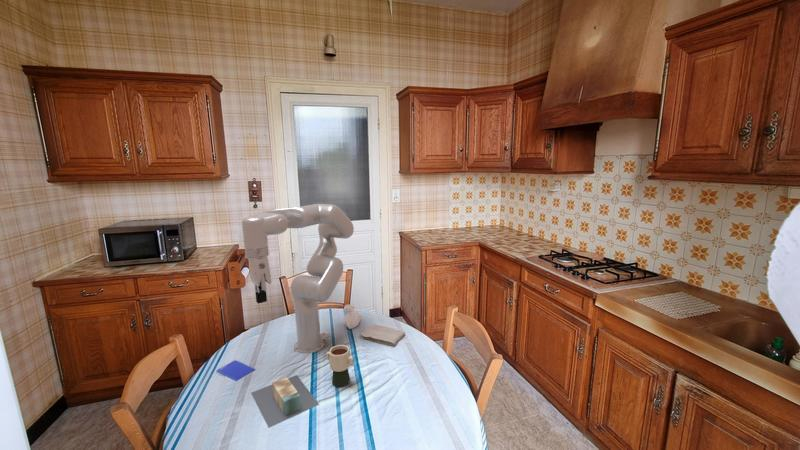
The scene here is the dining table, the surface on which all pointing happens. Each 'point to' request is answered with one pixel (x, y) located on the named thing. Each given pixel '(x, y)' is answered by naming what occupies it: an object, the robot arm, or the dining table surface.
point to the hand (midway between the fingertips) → (261, 301)
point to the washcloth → (382, 335)
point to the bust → (351, 316)
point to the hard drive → (235, 370)
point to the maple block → (286, 396)
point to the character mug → (340, 364)
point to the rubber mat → (273, 410)
